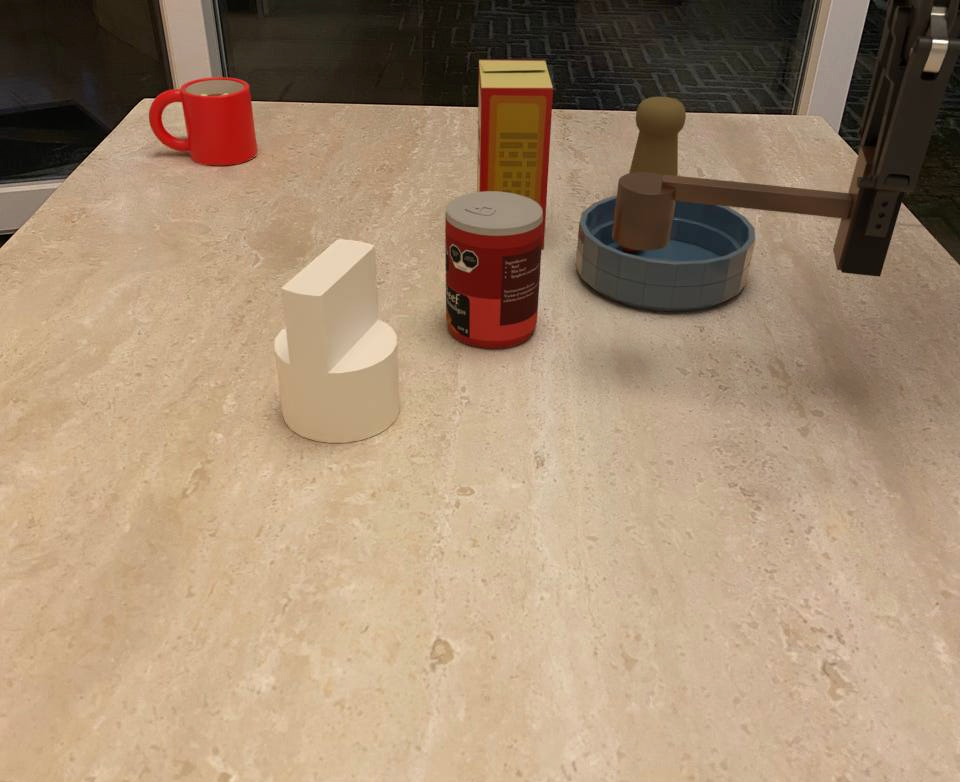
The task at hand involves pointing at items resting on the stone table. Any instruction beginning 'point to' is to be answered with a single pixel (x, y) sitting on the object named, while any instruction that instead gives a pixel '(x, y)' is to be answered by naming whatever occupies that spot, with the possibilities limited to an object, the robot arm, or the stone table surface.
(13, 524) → the stone table surface
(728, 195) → the wooden mallet
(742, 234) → the bowl
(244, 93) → the mug
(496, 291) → the canned food
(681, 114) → the cork
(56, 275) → the stone table surface
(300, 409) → the base with upright slab
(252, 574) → the stone table surface
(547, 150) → the baking soda box
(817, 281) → the stone table surface
